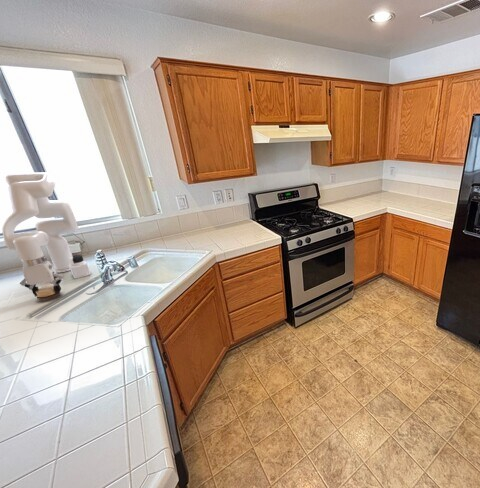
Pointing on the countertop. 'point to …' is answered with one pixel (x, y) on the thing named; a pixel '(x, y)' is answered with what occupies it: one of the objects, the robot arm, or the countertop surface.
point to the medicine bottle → (78, 266)
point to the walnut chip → (49, 297)
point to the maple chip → (45, 291)
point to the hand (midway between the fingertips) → (48, 293)
